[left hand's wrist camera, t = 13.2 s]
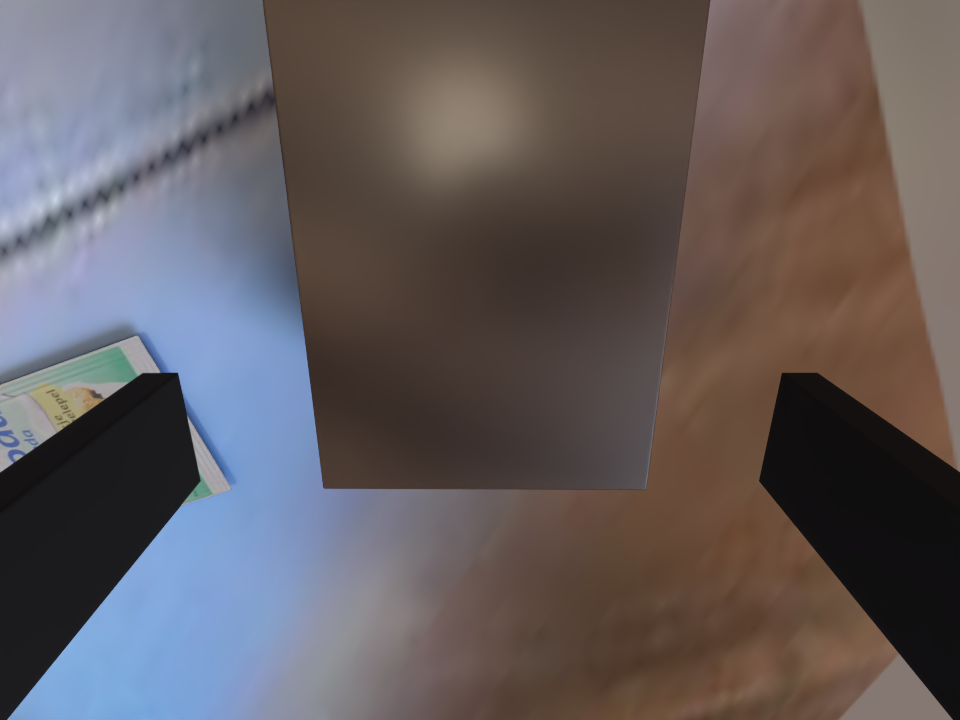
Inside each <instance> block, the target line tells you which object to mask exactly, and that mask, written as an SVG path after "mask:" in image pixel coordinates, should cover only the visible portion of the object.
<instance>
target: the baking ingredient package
mask: <svg viewBox="0 0 960 720" xmlns="http://www.w3.org/2000/svg"><path fill="white" fill-rule="evenodd" d="M142 373H161V372H160V370H159V369H158V367H157V366H156V364H155V362H154V361H153V359H152V357H151V356H150V355H149V353H148V352H147V350H146V348H145V347H144V345H143V343H142V342H141V340H140V338H139V337H138V336H134V337H131V338H128V339H125V340H123V341H120V342H117V343H115V344H112V345H109V346H106V347H103V348H101V349H98V350H95V351H92V352H89V353H87V354H84V355H81V356H78V357H76V358H73V359H70V360H67V361H65V362H62V363H59V364H56V365H53V366H51V367H48V368H45V369H42V370H40V371H37V372H34V373H31V374H29V375H26V376H23V377H20V378H17V379H15V380H12V381H9V382H6V383H4V384H1V385H0V472H1V471H3V470H4V469H6V468H7V467H9V466H10V465H11V464H13V463H14V462H16V461H17V460H19V459H20V458H21V457H23V456H24V455H26V454H27V453H29V452H30V451H31V450H33V449H34V448H36V447H37V446H39V445H40V444H41V443H43V442H44V441H46V440H47V439H49V438H50V437H52V436H53V435H54V434H56V433H57V432H59V431H60V430H62V429H63V428H64V427H66V426H67V425H69V424H70V423H72V422H73V421H74V420H76V419H77V418H79V417H80V416H82V415H83V414H84V413H86V412H87V411H89V410H90V409H92V408H93V407H95V406H96V405H97V404H99V403H100V402H102V401H103V400H105V399H106V398H107V397H109V396H110V395H112V394H113V393H115V392H116V391H117V390H119V389H120V388H122V387H123V386H125V385H126V384H127V383H129V382H130V381H132V380H133V379H135V378H136V377H137V376H139V375H140V374H142ZM187 418H188V423H189V427H190V432H191V437H192V441H193V446H194V451H195V456H196V460H197V465H198V470H199V474H200V479H201V482H200V483H199V484H198V485H197V486H196V488H195V489H194V490H193V491H192V493H191V494H190V495H189V496H188V498H187V499H186V500H185V501H184V502H183V504H182V505H184V504H187V503H190V502H193V501H197V500H200V499H203V498H207V497H210V496H213V495H216V494H220V493H223V492H226V491H230V490H231V489H232V488H231V487H230V485H229V483H228V482H227V480H226V478H225V477H224V475H223V474H222V472H221V470H220V468H219V467H218V465H217V463H216V462H215V460H214V458H213V457H212V455H211V453H210V452H209V450H208V449H207V447H206V445H205V444H204V442H203V440H202V439H201V437H200V435H199V434H198V432H197V430H196V429H195V427H194V426H193V424H192V422H191V421H190V419H189V417H188V416H187Z"/></svg>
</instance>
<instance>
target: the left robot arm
mask: <svg viewBox="0 0 960 720" xmlns="http://www.w3.org/2000/svg"><path fill="white" fill-rule="evenodd" d="M200 482H201V479H200V474H199V470H198V465H197V460H196V456H195V451H194V446H193V441H192V437H191V432H190V427H189V423H188V418H187V413H186V409H185V404H184V399H183V394H182V390H181V385H180V380H179V376H178V373H142V374H140V375H139V376H137V377H136V378H135V379H133V380H132V381H130V382H129V383H127V384H126V385H125V386H123V387H122V388H120V389H119V390H117V391H116V392H115V393H113V394H112V395H110V396H109V397H107V398H106V399H105V400H103V401H102V402H100V403H99V404H97V405H96V406H95V407H93V408H92V409H90V410H89V411H87V412H86V413H84V414H83V415H82V416H80V417H79V418H77V419H76V420H74V421H73V422H72V423H70V424H69V425H67V426H66V427H64V428H63V429H62V430H60V431H59V432H57V433H56V434H54V435H53V436H52V437H50V438H49V439H47V440H46V441H44V442H43V443H41V444H40V445H39V446H37V447H36V448H34V449H33V450H31V451H30V452H29V453H27V454H26V455H24V456H23V457H21V458H20V459H19V460H17V461H16V462H14V463H13V464H11V465H10V466H9V467H7V468H6V469H4V470H3V471H1V472H0V720H7V719H8V718H9V717H10V715H11V714H12V713H13V712H14V710H15V709H16V708H17V707H18V706H19V704H20V703H21V702H22V701H23V699H24V698H25V697H26V696H27V694H28V693H29V692H30V691H31V690H32V688H33V687H34V686H35V685H36V683H37V682H38V681H39V680H40V678H41V677H42V676H43V675H44V674H45V672H46V671H47V670H48V669H49V667H50V666H51V665H52V664H53V662H54V661H55V660H56V659H57V658H58V656H59V655H60V654H61V653H62V651H63V650H64V649H65V648H66V646H67V645H68V644H69V643H70V642H71V640H72V639H73V638H74V637H75V635H76V634H77V633H78V632H79V630H80V629H81V628H82V627H83V626H84V624H85V623H86V622H87V621H88V619H89V618H90V617H91V616H92V614H93V613H94V612H95V611H96V610H97V608H98V607H99V606H100V605H101V603H102V602H103V601H104V600H105V598H106V597H107V596H108V595H109V594H110V592H111V591H112V590H113V589H114V587H115V586H116V585H117V584H118V582H119V581H120V580H121V579H122V578H123V576H124V575H125V574H126V573H127V571H128V570H129V569H130V568H131V566H132V565H133V564H134V563H135V562H136V560H137V559H138V558H139V557H140V555H141V554H142V553H143V552H144V550H145V549H146V548H147V547H148V546H149V544H150V543H151V542H152V541H153V539H154V538H155V537H156V536H157V534H158V533H159V532H160V531H161V530H162V528H163V527H164V526H165V525H166V523H167V522H168V521H169V520H170V518H171V517H172V516H173V515H174V514H175V512H176V511H177V510H178V509H179V507H180V506H181V505H182V504H183V502H184V501H185V500H186V499H187V498H188V496H189V495H190V494H191V493H192V491H193V490H194V489H195V488H196V486H197V485H198V484H199V483H200ZM759 482H760V483H761V484H762V485H763V486H764V488H765V489H766V490H767V491H768V493H769V494H770V495H771V496H772V498H773V499H774V500H775V501H776V502H777V504H778V505H779V506H780V507H781V509H782V510H783V511H784V512H785V514H786V515H787V516H788V517H789V518H790V520H791V521H792V522H793V523H794V525H795V526H796V527H797V528H798V530H799V531H800V532H801V533H802V534H803V536H804V537H805V538H806V539H807V541H808V542H809V543H810V544H811V546H812V547H813V548H814V549H815V550H816V552H817V553H818V554H819V555H820V557H821V558H822V559H823V560H824V562H825V563H826V564H827V565H828V566H829V568H830V569H831V570H832V571H833V573H834V574H835V575H836V576H837V578H838V579H839V580H840V581H841V582H842V584H843V585H844V586H845V587H846V589H847V590H848V591H849V592H850V594H851V595H852V596H853V597H854V598H855V600H856V601H857V602H858V603H859V605H860V606H861V607H862V608H863V610H864V611H865V612H866V613H867V614H868V616H869V617H870V618H871V619H872V621H873V622H874V623H875V624H876V626H877V627H878V628H879V629H880V630H881V632H882V633H883V634H884V635H885V637H886V638H887V639H888V640H889V642H890V643H891V644H892V645H893V646H894V648H895V649H896V650H897V651H898V653H899V654H900V655H901V656H902V657H903V659H904V660H905V661H906V662H907V664H908V665H909V666H910V667H911V669H912V670H913V671H914V672H915V674H916V675H917V676H918V677H919V678H920V680H921V681H922V682H923V683H924V684H925V686H926V687H927V688H928V690H929V691H930V692H931V693H932V694H933V696H934V697H935V698H936V699H937V701H938V702H939V703H940V704H941V706H942V707H943V708H944V709H945V710H946V712H947V713H948V714H949V715H950V717H951V718H952V719H953V720H960V472H959V471H957V470H956V469H954V468H953V467H951V466H950V465H949V464H947V463H946V462H944V461H943V460H941V459H940V458H939V457H937V456H936V455H934V454H933V453H931V452H930V451H929V450H927V449H926V448H924V447H923V446H921V445H920V444H919V443H917V442H916V441H914V440H913V439H911V438H910V437H908V436H907V435H906V434H904V433H903V432H901V431H900V430H898V429H897V428H896V427H894V426H893V425H891V424H890V423H888V422H887V421H886V420H884V419H883V418H881V417H880V416H878V415H877V414H876V413H874V412H873V411H871V410H870V409H868V408H867V407H865V406H864V405H863V404H861V403H860V402H858V401H857V400H855V399H854V398H853V397H851V396H850V395H848V394H847V393H845V392H844V391H843V390H841V389H840V388H838V387H837V386H835V385H834V384H833V383H831V382H830V381H828V380H827V379H825V378H824V377H823V376H821V375H820V374H818V373H782V376H781V380H780V385H779V390H778V394H777V399H776V404H775V409H774V413H773V418H772V423H771V427H770V432H769V437H768V441H767V446H766V451H765V456H764V460H763V465H762V470H761V474H760V479H759Z"/></svg>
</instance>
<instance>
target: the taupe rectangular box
mask: <svg viewBox="0 0 960 720" xmlns="http://www.w3.org/2000/svg"><path fill="white" fill-rule="evenodd" d="M709 6H710V0H263V7H264V15H265V23H266V31H267V39H268V47H269V55H270V63H271V71H272V79H273V87H274V95H275V103H276V111H277V119H278V128H279V136H280V144H281V152H282V160H283V168H284V176H285V184H286V192H287V200H288V208H289V216H290V224H291V232H292V240H293V248H294V256H295V264H296V272H297V280H298V288H299V296H300V304H301V312H302V320H303V328H304V336H305V344H306V352H307V360H308V368H309V376H310V384H311V392H312V400H313V409H314V417H315V425H316V433H317V441H318V449H319V457H320V465H321V473H322V481H323V487H324V488H325V489H558V490H646V488H647V482H648V474H649V466H650V459H651V451H652V443H653V436H654V428H655V420H656V413H657V405H658V397H659V390H660V382H661V374H662V367H663V359H664V351H665V344H666V336H667V328H668V321H669V313H670V305H671V298H672V290H673V282H674V275H675V267H676V259H677V251H678V244H679V236H680V228H681V221H682V213H683V205H684V198H685V190H686V182H687V175H688V167H689V159H690V152H691V144H692V136H693V129H694V121H695V113H696V106H697V98H698V90H699V83H700V75H701V67H702V60H703V52H704V44H705V37H706V29H707V21H708V14H709Z"/></svg>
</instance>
